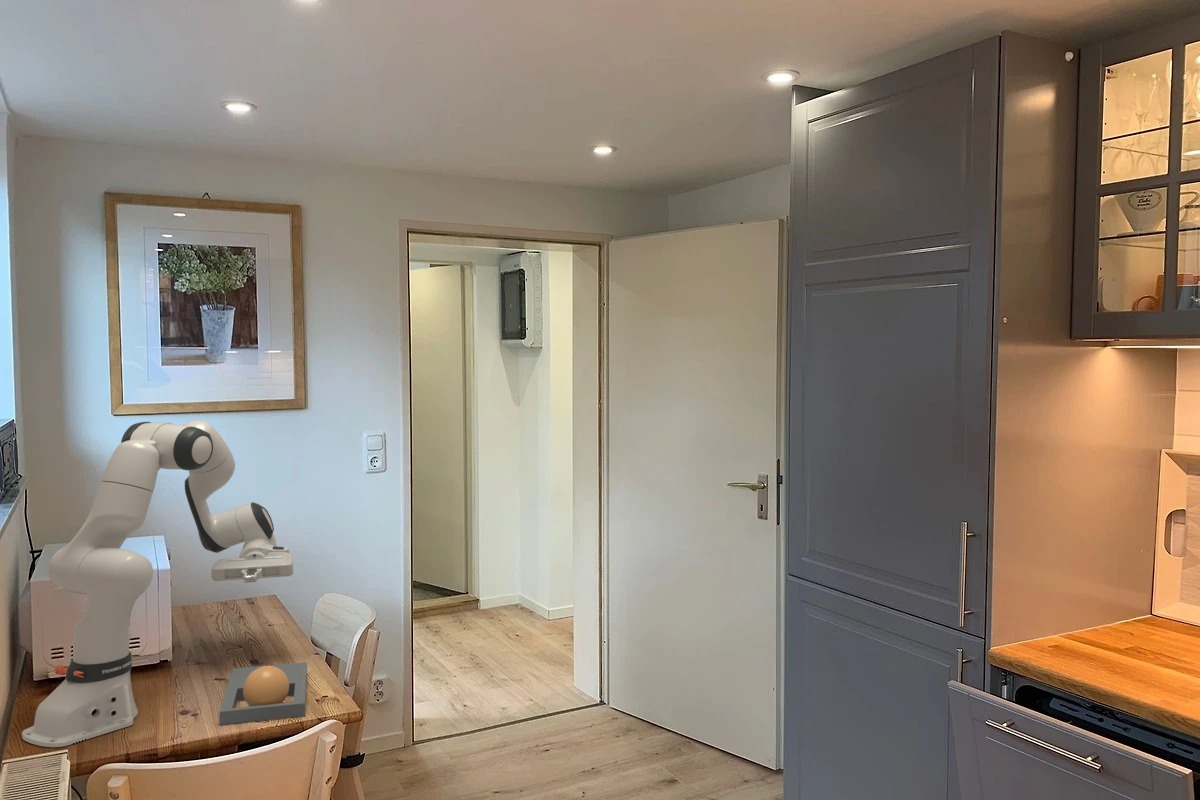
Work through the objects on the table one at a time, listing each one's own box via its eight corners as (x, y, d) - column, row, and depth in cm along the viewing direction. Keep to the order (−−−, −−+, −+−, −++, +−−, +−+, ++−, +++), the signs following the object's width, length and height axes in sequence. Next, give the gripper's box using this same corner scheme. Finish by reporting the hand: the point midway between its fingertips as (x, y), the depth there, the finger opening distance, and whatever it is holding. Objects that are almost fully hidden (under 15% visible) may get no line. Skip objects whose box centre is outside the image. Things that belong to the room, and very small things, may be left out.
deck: (232, 680, 222) (232, 668, 222) (306, 673, 227) (306, 662, 227) (219, 725, 194) (219, 711, 194) (304, 716, 200) (304, 703, 200)
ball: (268, 654, 209) (268, 692, 211) (233, 671, 200) (233, 711, 202) (298, 665, 204) (298, 704, 206) (263, 683, 196) (264, 724, 198)
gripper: (214, 551, 235) (205, 570, 222) (294, 547, 241) (291, 565, 228) (215, 573, 237) (207, 594, 223) (295, 568, 242) (291, 588, 229)
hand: (250, 579), depth 226 cm, fingers closed
